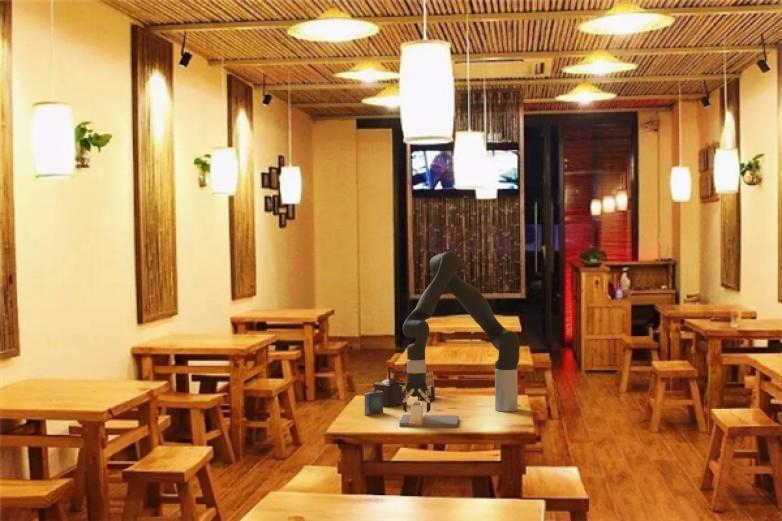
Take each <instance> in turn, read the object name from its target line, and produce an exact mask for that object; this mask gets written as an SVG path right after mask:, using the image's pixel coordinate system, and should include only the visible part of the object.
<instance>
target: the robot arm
mask: <svg viewBox="0 0 782 521" xmlns="http://www.w3.org/2000/svg"><path fill="white" fill-rule="evenodd" d="M459 267H460V259H459V257H458V255H457V253H455V252H453V251H445V252H443V253H439V254H436V255H434V256H432V258H431V259H430V261H429V268H430V270H431V272H432V273H433V275H434V278H433V280H432V281H431V283H429V285H428V286H427V287H426V289H425V290H424V291H423V293H422V295H421V296H420V298H419V300H418V302H417V304H416V307H415V308H414V309H413V310H412V311H411V313H410V314H409V315H408V316H407V317H406V319H405V321H404V322H403V324H402V333H403V335H404V336H405V337H406V338H411V339H412V338H413V339H415V342H414V343H411V344H408V346H407V348H406V351H407V352H406V354H407V355H406V356H407V357H406V358H407V359H406V362H407V373H406V386H402V385H400V386H399V395H398V400H399V401H401V402H403V405H402V408H403V409H402V410H403V412H405V413H407V412H408V400H409V399H410V397H412V398H415V397H417V398H418V397H421V396H423V398H424V399H425V400H424V401H426V413H429V412H430V411H431V405H432V404H431V403H433V402H435V401H436V389H435V390H434V386H435V384H434V385H432V386H427V385H426V373H427V364H426V347H427V344H428V338H429V337H430V336H429V335H430V326H429V324H428V322H427V321H426V320H429V319H431V317H433V316H432V315H433V314H434V312H435V310H436V307H437V304H438V302H439V301H440V299H441V297H442V295H443V293H444V291H445V289H446V288H447V289H448V290H449V291H450V293H451V294H452V296H454V297H455V298H456V300H458V302H459V304H461V306H462V308H464V310H465V311H466V312H467V314H468V315H469V316H470V317H471V319H473V321H475V323H476V324H477V325H478V326H479V327H480V328H481V329H482V330H483V332H484V334H485V335H486V337H487V338H488V339H489V342H491V344H492V345H493V347H494V349H496V350H497V351H498V359H497V360H496V361H495V363H494V385H495V386H494V410H495V411H498V412H506V413H507V412H517V411H519V410H518V409H519V408H518V407H519V405H518V400H519V399H518V398H519V396H518V394H519V393H518V392H519V391H518V364H519V363H520V351H521V350H520V347H521V346H520V345H521V343H520V337H519V336H518V334H517V333H516V332H515V331H513V330H509V329H506V327H504V326H503V325H502V324H501V323H500V322H499V320H498V319H497V318H496V316H495V315H494V312H493V309H492V308H491V305H490V304H489V301H488V300H487V298H485V296H484V295H483V294H482V292H480V290H478V288H476V287H475V286H473V285H471V284H470V283H468V282H466V281H464V280H463V279H461V277H459V276H458V275H457V274H456V273H457V271H458V269H459ZM404 389H406V392H408V393H406V397H405V398H402V391H404ZM427 389H429V391H430V392H431V398H429V397H428V396H427V394H426V393H425V392H426V390H427Z"/></svg>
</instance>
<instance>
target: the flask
mask: <svg viewBox="0 0 782 521" xmlns="http://www.w3.org/2000/svg"><path fill="white" fill-rule="evenodd" d="M363 396H364V416H367V417H368V416H373V415H379V414H384V407H383V391H379V390H377V391H375V389H374V388H373V387H371V391H369V392H366V393H364V395H363Z"/></svg>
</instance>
